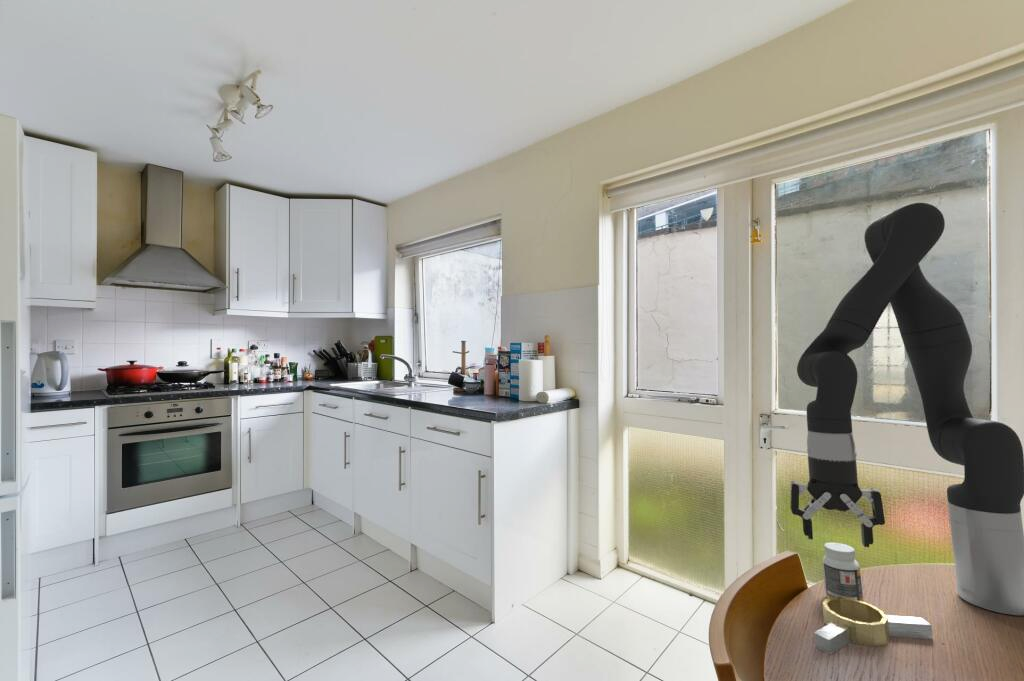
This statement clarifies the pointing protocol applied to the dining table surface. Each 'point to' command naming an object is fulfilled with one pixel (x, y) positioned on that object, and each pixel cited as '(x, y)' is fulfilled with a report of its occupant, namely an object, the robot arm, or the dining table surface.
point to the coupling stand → (864, 625)
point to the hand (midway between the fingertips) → (837, 541)
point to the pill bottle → (841, 572)
